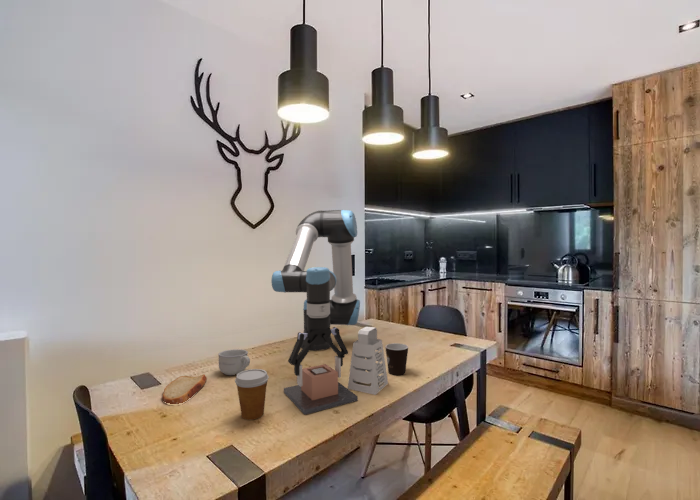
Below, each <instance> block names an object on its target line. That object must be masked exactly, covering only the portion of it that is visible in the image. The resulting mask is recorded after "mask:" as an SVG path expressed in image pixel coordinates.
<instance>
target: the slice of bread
mask: <svg viewBox="0 0 700 500" xmlns="http://www.w3.org/2000/svg"><path fill="white" fill-rule="evenodd" d="M207 379H208V377H207V376H206V374H200V375H198V376H189V375H180V376H179V377H177V378H175V379H174V380H172V381H171V382H169V384H167V385H166V386H165V387H164V389H163V393H162V395H161V396H162V397H161V398H162V399H163V401H164V402H166V403H170V404H179V403H183V402H185V401H187V400H188V399H189V398H191V397H192V396H193V395H194V394H195V393H196V392H197V393H199V391H200V390H201V389H202V388H203V387H204V386H205V384H206V382H207ZM203 385H204V386H203ZM197 393H196V394H197ZM196 394H195V395H196ZM195 395H194V396H195ZM194 396H193V397H194ZM193 397H192V398H193ZM192 398H191V399H192ZM162 399H161V400H162ZM163 401H162V402H163ZM188 401H189V400H188ZM188 401H187V402H188ZM185 403H186V402H185Z"/></svg>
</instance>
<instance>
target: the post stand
mask: <svg viewBox="0 0 700 500" xmlns="http://www.w3.org/2000/svg"><path fill="white" fill-rule="evenodd" d="M311 373H312V374H313V375H319V374H324V373H328V371H326V370H325V369H324V368H318V369H313V370H311ZM283 394H285V396H286V397H288V399H289V400H290V401H291V402H292V403H293V404H294V405H295V406H296V408H297V409H299V411H300V412H301V413H302V414H303V415H305V416H306V415H310V414H313V413H317V412H321V411H324V410H328V409H329V410H330V409H332V408H335V407H339V406H340V407H341V406H343V405H347V404H350V403H355V402H358V401H359V399H358V395H357V394H355V393H354V392H353V391H351V389H348V387H346V386H344V385H343V384H342V383H340V382H339V381H338V394H336V395H332V396H328V397H324V398H320V399H316V400H311V399H310V398H309V397H308V396H307V395H306V394H305V393H304V392H303V391H302V390H301V387H300V386H299V385H298V384H297V385H291V386H287V387H283Z"/></svg>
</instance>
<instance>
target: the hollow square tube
mask: <svg viewBox="0 0 700 500" xmlns="http://www.w3.org/2000/svg"><path fill="white" fill-rule="evenodd" d="M318 368H324V369H325V370H326V371H328V373H324V374H319V375H313V374H312V373H311V370H313V369H318ZM302 381H303V386H301V390H302V391H303V392H304V393H305V394H306V395H307V396H308V397H309V398H310V399H311V400H316V399H320V398H324V397H328V396H332V395H336V394H338V382H339V378H338V372H337V371H335V368H334V369H333V368H332V367H331V366H329V365H328V364H326V363H323V364H317V365H314V366H309V367H308V366H307V367H304V368H303V367H302Z"/></svg>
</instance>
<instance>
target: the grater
mask: <svg viewBox="0 0 700 500" xmlns="http://www.w3.org/2000/svg"><path fill="white" fill-rule="evenodd" d="M383 345H384V344H383V340H382V339H379V338H378V329H377V327H373V326H364V327H363V328H361V329H359V330H358V332H357V339H356V340H355V341H354V342H353V343H352V349H351V358H350V365H349V374H348V382H347V383H348V384H347V389H349V390H350V391H351V390H352V391H356V392H361V393H366V394H370V395H373V396H375V395H378V393H379V392H380V391H382V390H383V389H384V388H385V387H386V386H387V385H388V384H389V381H388V374H387V372H388V371H387V365H386V359H385V352H384V346H383ZM358 383H359V384H358ZM364 384H367V385H364ZM369 384H370V385H369Z"/></svg>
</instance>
